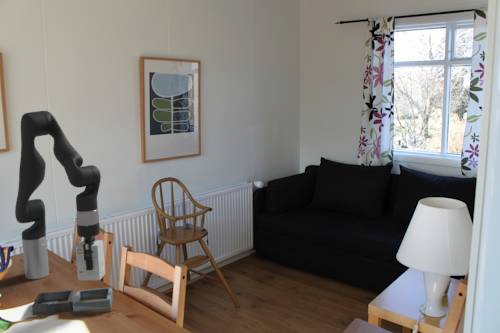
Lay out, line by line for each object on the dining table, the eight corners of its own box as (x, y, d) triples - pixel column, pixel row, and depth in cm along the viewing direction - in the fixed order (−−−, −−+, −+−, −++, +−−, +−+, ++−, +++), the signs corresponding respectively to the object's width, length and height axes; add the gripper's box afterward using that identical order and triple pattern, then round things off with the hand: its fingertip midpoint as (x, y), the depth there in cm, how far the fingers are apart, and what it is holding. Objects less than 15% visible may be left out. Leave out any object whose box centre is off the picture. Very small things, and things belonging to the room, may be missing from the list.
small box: (105, 273, 165) (103, 239, 163) (99, 280, 159) (97, 245, 157) (83, 273, 165) (81, 240, 163) (77, 280, 159) (74, 245, 157)
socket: (39, 301, 167) (39, 293, 167) (75, 298, 170) (74, 289, 169) (32, 315, 156) (31, 306, 156) (70, 311, 159) (69, 302, 159)
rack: (77, 300, 168) (76, 290, 167) (113, 296, 171) (112, 286, 170) (72, 315, 156) (71, 304, 156) (111, 311, 159) (110, 300, 158)
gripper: (79, 217, 165) (82, 260, 167) (73, 228, 151) (77, 274, 153) (101, 215, 166) (103, 258, 169) (96, 226, 152) (99, 272, 155)
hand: (91, 265), depth 161 cm, fingers closed on small box, 7 cm apart
